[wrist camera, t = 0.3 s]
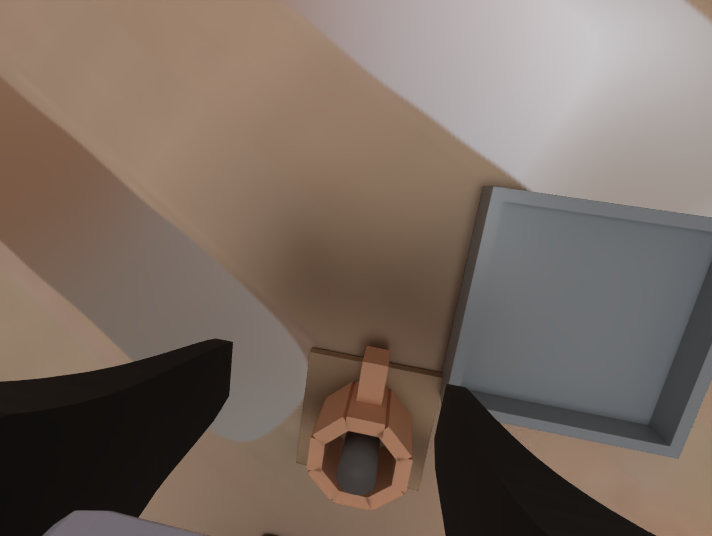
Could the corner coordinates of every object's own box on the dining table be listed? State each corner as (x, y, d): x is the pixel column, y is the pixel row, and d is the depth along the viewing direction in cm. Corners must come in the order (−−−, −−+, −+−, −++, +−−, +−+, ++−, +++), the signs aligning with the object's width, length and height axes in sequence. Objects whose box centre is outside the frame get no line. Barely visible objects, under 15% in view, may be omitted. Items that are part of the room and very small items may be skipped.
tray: (649, 429, 21) (678, 459, 19) (438, 387, 22) (442, 410, 20) (729, 221, 18) (775, 226, 16) (483, 186, 19) (493, 186, 17)
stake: (417, 483, 24) (420, 559, 19) (298, 456, 24) (272, 522, 20) (442, 373, 22) (452, 426, 17) (312, 347, 22) (286, 391, 18)
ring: (401, 469, 23) (400, 518, 19) (318, 450, 23) (303, 495, 20) (424, 356, 21) (427, 389, 18) (333, 339, 22) (319, 367, 18)
